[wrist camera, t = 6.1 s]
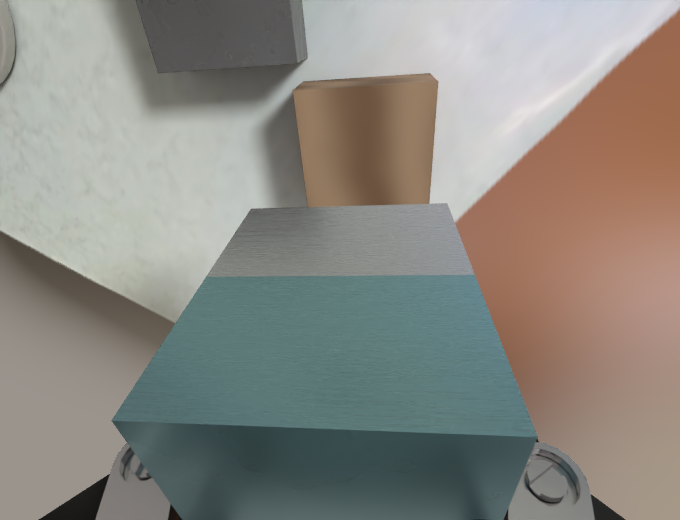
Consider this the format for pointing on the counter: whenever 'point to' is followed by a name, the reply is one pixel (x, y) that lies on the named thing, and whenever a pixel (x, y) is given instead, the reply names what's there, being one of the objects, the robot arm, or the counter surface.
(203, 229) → the counter surface
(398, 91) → the stand
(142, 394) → the teal and grey block
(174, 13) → the stand
